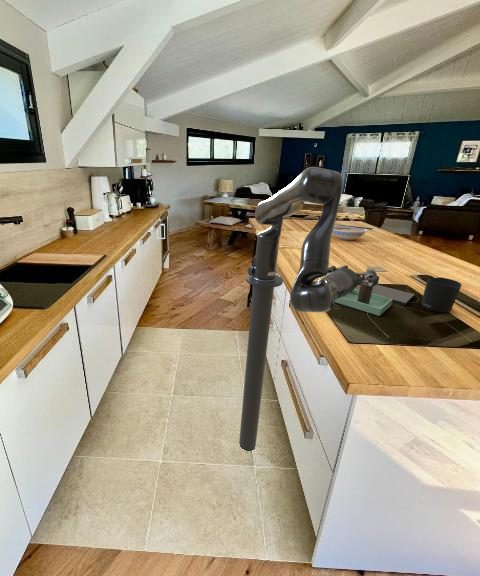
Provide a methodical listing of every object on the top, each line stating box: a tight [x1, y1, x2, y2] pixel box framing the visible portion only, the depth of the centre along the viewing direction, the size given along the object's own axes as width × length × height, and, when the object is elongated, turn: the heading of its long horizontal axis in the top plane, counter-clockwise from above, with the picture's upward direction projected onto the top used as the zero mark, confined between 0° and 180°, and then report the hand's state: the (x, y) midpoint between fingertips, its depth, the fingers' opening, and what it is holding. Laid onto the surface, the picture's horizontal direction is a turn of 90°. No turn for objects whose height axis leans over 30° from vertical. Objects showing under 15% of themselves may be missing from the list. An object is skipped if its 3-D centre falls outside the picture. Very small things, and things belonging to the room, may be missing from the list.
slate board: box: [355, 284, 415, 306], centre depth 123 cm, size 20×12×1 cm, turn 43°
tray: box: [335, 289, 393, 317], centre depth 114 cm, size 15×12×3 cm
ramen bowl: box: [332, 223, 374, 241], centre depth 209 cm, size 25×23×8 cm
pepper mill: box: [357, 268, 376, 304], centre depth 111 cm, size 4×4×13 cm
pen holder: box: [421, 276, 462, 314], centre depth 110 cm, size 9×9×10 cm
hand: (359, 271), depth 101 cm, fingers open, 8 cm apart
